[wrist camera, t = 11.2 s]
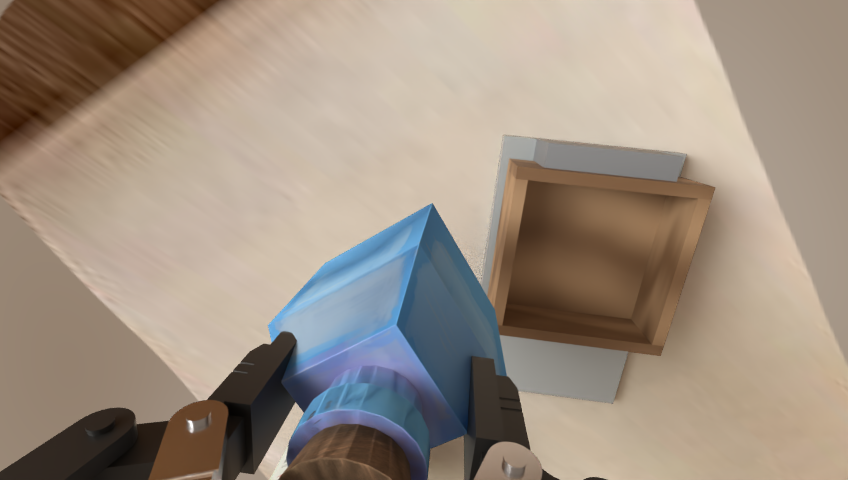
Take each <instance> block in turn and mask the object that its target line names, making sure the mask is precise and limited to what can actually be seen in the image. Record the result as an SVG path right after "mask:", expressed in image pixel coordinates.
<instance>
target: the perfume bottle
mask: <svg viewBox="0 0 848 480" xmlns="http://www.w3.org/2000/svg"><path fill="white" fill-rule="evenodd" d="M268 328H269V332H270V337H271V341H272V342H273V341H274V340H275V338H276V337H277V336H278V335H279V334H280V333H281V332H282V331H286V332H291V333H293V335H294V336H295V338H296V340H297V342H296V345H295V347H294V350H293V353H292V355H291V358H290V360H289V363H288V366H287V368H286V371H285V374H284V376H283V379H282V381H281V383H282V385H283V386H284V387H285V389H286V390H287V391H288V392H289V394H290V395H291V396H292V398H293V399H294V400H295V402H296V403H297V404H298V405H299V407H300V408H301V409H302V411H303V412H304V414H303V416H302V418H301V420H300V422H299V424H298V426H297V427H296V429H295V431H294V433H293V435H292V437H291V439H290V441H289V445H288V450H287V456H286V461H287V465H288V467H287V469H286V470H285V471H284V472H283V474H282V475H281V476H280V478H279V479H278V480H427V479H428V468H429V457H430V449H431V448H433V447H436V446H438V445H441V444H443V443H446V442H448V441H451V440H453V439H456V438H458V437H461V436H463V435H466V434H467V425H468V407H469V390H470V373H471V356H476V357H483V358H491V359H494V364H495V371H496V375H500V376H507V374H506V368H505V363H504V357H503V351H502V346H501V340H500V335H499V329H498V324H497V318H496V313H495V309H494V307H493V306H492V304H491V302H490V300H489V299H488V297H487V295H486V294H485V292H484V290H483V289H482V287H481V285H480V283H479V282H478V280H477V278H476V277H475V275H474V273H473V271H472V270H471V268H470V266H469V265H468V263H467V261H466V260H465V258H464V256H463V254H462V253H461V251H460V249H459V248H458V246H457V244H456V243H455V241H454V239H453V237H452V236H451V234H450V232H449V231H448V229H447V227H446V225H445V224H444V222H443V220H442V219H441V217H440V215H439V214H438V212H437V210H436V208H435V207H434V205H433V203H432V204H430V205H428V206H426V207H424V208H423V209H421V210H419V211H417V212H415V213H414V214H412V215H410V216H408V217H407V218H405V219H403V220H401V221H399V222H398V223H396V224H394V225H392V226H391V227H389V228H387V229H385V230H383V231H382V232H380V233H378V234H376V235H375V236H373V237H371V238H369V239H367V240H366V241H364V242H362V243H360V244H358V245H357V246H355V247H353V248H351V249H350V250H348V251H346V252H344V253H342V254H341V255H339V256H337V257H335V258H334V259H332V260H330V261H328V262H326V263H325V264H324V265H323V266H322V267H321V268H320V269H319V270H318V271H317V273H316V274H315V275H314V276H313V277H312V278H311V279H310V280H309V281H308V282H307V283H306V284H305V286H304V287H303V288H302V289H301V290H300V291H299V292H298V293H297V294H296V295H295V296H294V298H293V299H292V300H291V301H290V302H289V303H288V304H287V305H286V306H285V307H284V308H283V309H282V311H281V312H280V313H279V314H278V315H277V316H276V317H275V318H274V319H273V320H272V321H271V322H270V324H269V325H268Z"/></svg>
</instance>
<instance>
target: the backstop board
mask: <svg viewBox="0 0 848 480" xmlns="http://www.w3.org/2000/svg"><path fill="white" fill-rule="evenodd" d="M686 155H687V154H683V153H676V152H667V151H657V150H647V149H637V148H628V147H618V146H608V145H598V144H588V143H579V142H569V141H559V140H549V139H540V138H530V137H520V136H510V135H503V140H502V147H501V153H500V160H499V166H498V173H497V179H496V186H495V193H494V199H493V206H492V212H491V219H490V225H489V232H488V239H487V245H486V252H485V258H484V265H483V272H482V278H481V287H482V289H483V290H484V292H485V294H486V295H487V294H488V287H489V281H490V275H491V269H492V262H493V256H494V250H495V244H496V237H497V231H498V225H499V218H500V212H501V206H502V200H503V193H504V187H505V181H506V174H507V168H508V162H509V158H511V159H520V160H529V161H535V162H536V163H538V164H539V165H541V166H542V167H544V168H552V169H562V170H571V171H581V172H590V173H599V174H609V175H618V176H628V177H637V178H647V179H656V180H665V181H675V182H677V179H678V177H680V175H681V172H682V168H683V165H684V162H685V158H686ZM500 340H501V346H502V351H503V357H504V363H505V368H506V374H507V376H508V377H509V378H510V379H511V380H512V382H513V383H514V384H515V386H516V387H517V389H518V391H524V392H531V393H538V394H545V395H553V396H560V397H567V398H575V399H582V400H589V401H597V402H604V403H611V404H613V402H614V399H615V395H616V392H617V389H618V385H619V382H620V378H621V375H622V372H623V368H624V365H625V361H626V358H627V355H628V352H627V351H619V350H611V349H603V348H596V347H588V346H580V345H573V344H565V343H557V342H549V341H542V340H534V339H526V338H518V337H511V336H503V335H500Z"/></svg>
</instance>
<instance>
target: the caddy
mask: <svg viewBox="0 0 848 480" xmlns="http://www.w3.org/2000/svg"><path fill="white" fill-rule="evenodd" d="M714 190H715V187H712V186H709V185H705V184H702V183H698V182H695V181H691V180H688V179H685V178H681V177H678V179H677V182H675V181H665V180H656V179H647V178H637V177H628V176H618V175H609V174H599V173H590V172H581V171H571V170H562V169H552V168H544V167H542V166H541V165H539V164H538V163H536V162H535V161H529V160H520V159H511V158H509V162H508V168H507V174H506V181H505V187H504V193H503V200H502V206H501V212H500V218H499V225H498V231H497V237H496V244H495V250H494V256H493V262H492V269H491V275H490V281H489V287H488V294H487V297H488V299H489V300H490V302H491V304H492V306H493V307H494V309H495V313H496V318H497V324H498V329H499V335H503V336H511V337H518V338H526V339H534V340H542V341H549V342H557V343H565V344H573V345H580V346H588V347H596V348H603V349H611V350H619V351H627V352H634V353H642V354H650V355H657V356H661V353H662V350H663V347H664V344H665V341H666V338H667V334H668V331H669V328H670V325H671V322H672V319H673V316H674V313H675V310H676V307H677V304H678V301H679V298H680V295H681V291H682V288H683V285H684V282H685V279H686V276H687V273H688V270H689V267H690V264H691V261H692V258H693V255H694V252H695V249H696V245H697V242H698V239H699V236H700V233H701V230H702V227H703V224H704V221H705V218H706V215H707V212H708V209H709V206H710V202H711V199H712V196H713V193H714Z"/></svg>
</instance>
